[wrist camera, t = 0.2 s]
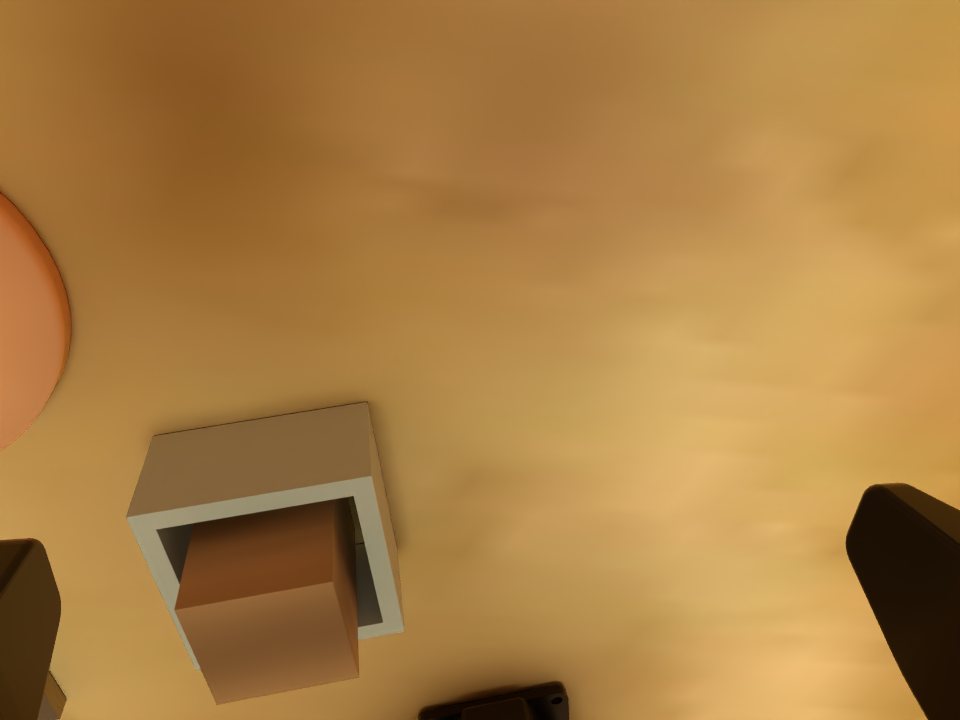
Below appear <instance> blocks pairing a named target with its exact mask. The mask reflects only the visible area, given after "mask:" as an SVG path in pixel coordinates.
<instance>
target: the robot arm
mask: <svg viewBox="0 0 960 720" xmlns="http://www.w3.org/2000/svg"><path fill="white" fill-rule="evenodd" d="M846 550H847V555H848V557H849V560H850V562H851V564H852V567H853V569H854V571H855V573H856V575H857V577H858V580H859V582H860V584H861V586H862V588H863V591H864V593H865V595H866V597H867V599H868V602H869V604H870V606H871V608H872V610H873V612H874V615H875V617H876V619H877V621H878V623H879V626H880V628H881V630H882V632H883V634H884V637H885V639H886V641H887V643H888V645H889V648H890V650H891V652H892V654H893V656H894V658H895V660H896V662H897V664H898V666H899V668H900V671H901V673H902V675H903V677H904V678H905V680H906V682H907V684H908V686H909V688H910V689H911V691H912V693H913V695H914V697H915V698H916V700H917V702H918V704H919V705H920V707H921V709H922V711H923V712H924V714H925V716H926V717H927V719H928V720H960V510H958V509H956V508H954V507H952V506H950V505H948V504H946V503H944V502H942V501H940V500H938V499H936V498H934V497H932V496H930V495H928V494H926V493H924V492H922V491H920V490H918V489H916V488H915V487H913V486H910V485H908V484H904V483H889V484H875V485H872V486H870V487H869V488H868V489H866V490H865V492H864V493H863V495H862V498H861V500H860V503H859V505H858V508H857V510H856V513H855V515H854V517H853V520H852V522H851V525H850V527H849V530H848V532H847V536H846ZM60 615H61V600H60V595H59V591H58V588H57V585H56V582H55V579H54V575H53V572H52V569H51V566H50V563H49V560H48V557H47V554H46V550H45V548H44V546H43V544H42V543H41V542H40V541H39V540H37V539H33V538H27V539H12V540H0V720H38V717H39V713H40V708H41V704H42V699H43V694H44V690H45V685H46V681H47V676H48V672H49V667H50V663H51V658H52V654H53V649H54V644H55V640H56V635H57V631H58V626H59V622H60ZM418 720H569V705H568V696H567V692H566V689H565V688H564V687H563V686H560V685H555V686H550V687H544V688H539V689H534V690H529V691H524V692H519V693H514V694H509V695H504V696H499V697H494V698H489V699H484V700H478V701H473V702H468V703H463V704H458V705H453V706H448V707H443V708H438V709H433V710H428V711H425V712H423V713H421V714H420V715H419V717H418Z"/></svg>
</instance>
